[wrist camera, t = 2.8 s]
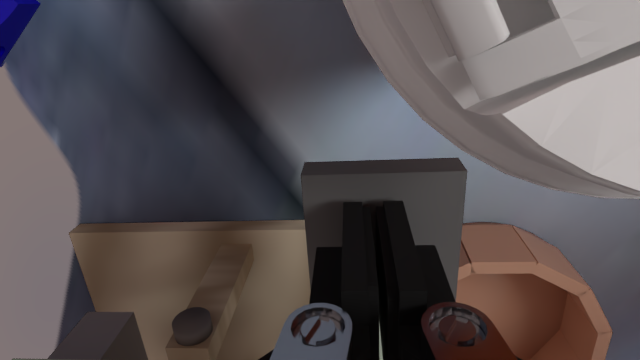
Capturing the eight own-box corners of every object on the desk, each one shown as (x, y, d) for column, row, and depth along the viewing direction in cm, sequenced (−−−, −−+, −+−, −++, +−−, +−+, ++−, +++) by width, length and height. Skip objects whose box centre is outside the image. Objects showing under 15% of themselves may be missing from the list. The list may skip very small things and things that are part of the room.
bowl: (588, 220, 20) (633, 261, 17) (554, 373, 24) (584, 429, 21) (377, 223, 21) (381, 262, 18) (378, 370, 25) (381, 424, 22)
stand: (352, 219, 21) (351, 332, 14) (357, 374, 26) (358, 522, 18) (80, 223, 23) (-50, 329, 15) (128, 370, 27) (45, 506, 20)
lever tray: (432, 120, 15) (473, 180, 10) (419, 400, 21) (440, 527, 16) (6, 136, 17) (-144, 195, 12) (103, 393, 23) (30, 506, 18)
